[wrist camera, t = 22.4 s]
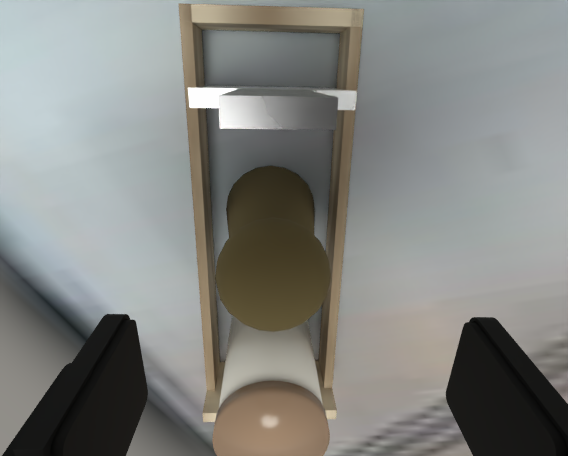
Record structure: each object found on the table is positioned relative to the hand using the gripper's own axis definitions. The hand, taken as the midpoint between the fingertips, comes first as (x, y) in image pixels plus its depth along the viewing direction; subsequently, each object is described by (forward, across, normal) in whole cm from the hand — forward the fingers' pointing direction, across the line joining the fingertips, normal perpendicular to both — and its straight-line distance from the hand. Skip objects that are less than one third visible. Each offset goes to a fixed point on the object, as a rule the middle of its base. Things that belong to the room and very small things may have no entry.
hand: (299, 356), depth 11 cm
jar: (+15, +1, +11) cm, 19 cm away
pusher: (+16, +1, -6) cm, 17 cm away
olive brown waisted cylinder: (+16, +1, +2) cm, 16 cm away
